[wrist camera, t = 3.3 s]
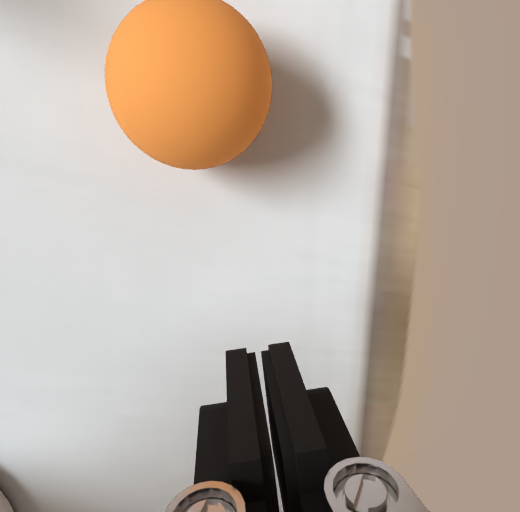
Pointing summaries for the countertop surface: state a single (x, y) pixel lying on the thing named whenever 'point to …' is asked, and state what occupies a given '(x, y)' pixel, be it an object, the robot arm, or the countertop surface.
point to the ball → (188, 81)
